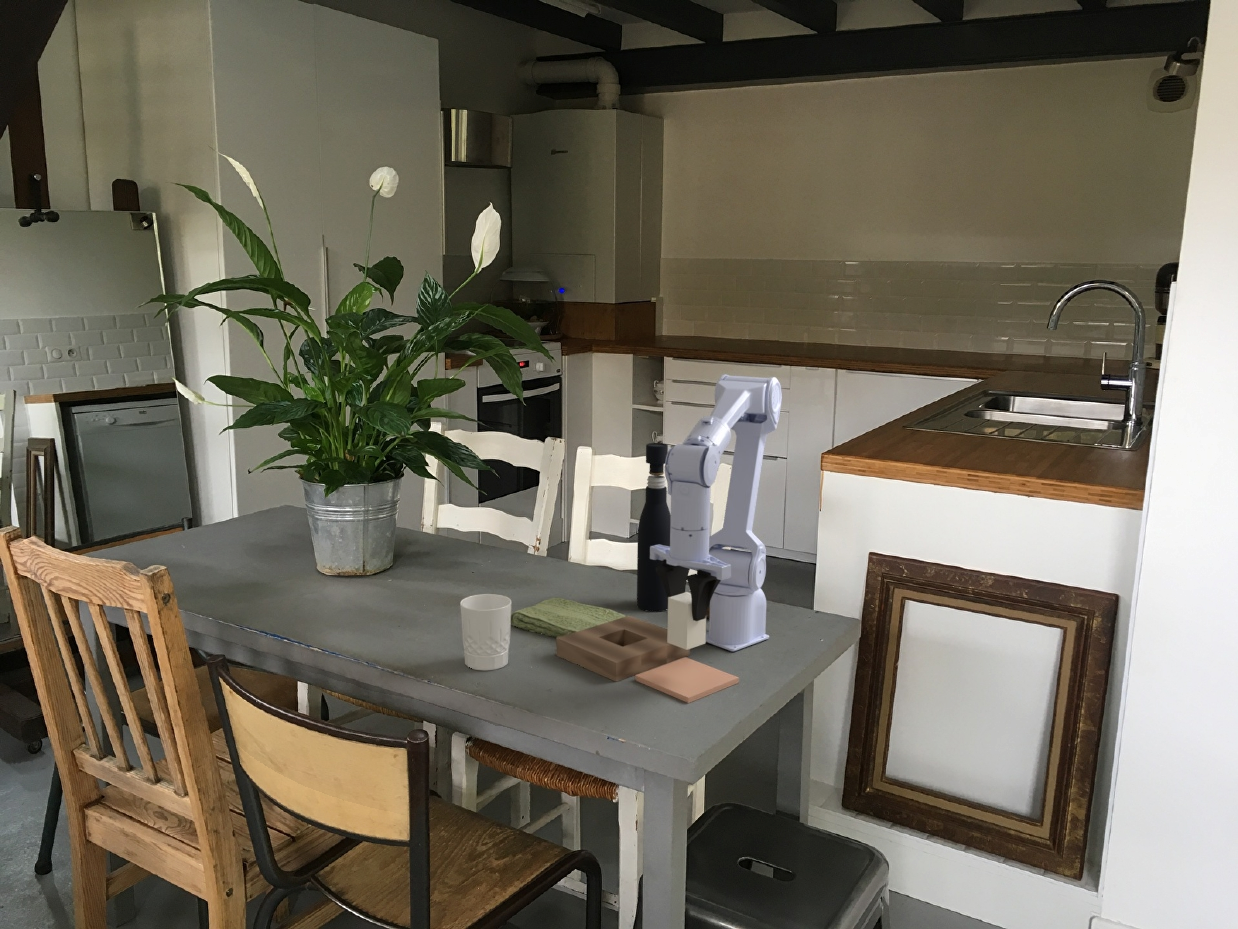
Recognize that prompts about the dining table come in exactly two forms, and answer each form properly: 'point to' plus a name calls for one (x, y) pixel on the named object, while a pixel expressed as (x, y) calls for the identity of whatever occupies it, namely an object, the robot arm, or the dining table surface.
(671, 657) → the brown board with hole
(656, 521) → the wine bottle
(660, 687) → the tile
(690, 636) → the plug
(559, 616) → the washcloth
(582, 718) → the dining table surface
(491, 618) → the white cup
